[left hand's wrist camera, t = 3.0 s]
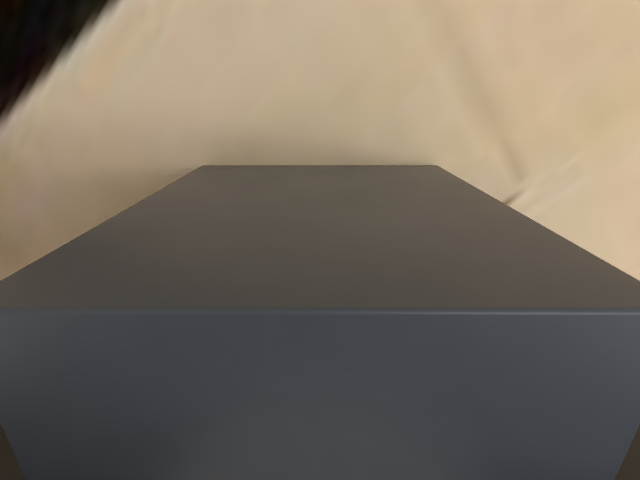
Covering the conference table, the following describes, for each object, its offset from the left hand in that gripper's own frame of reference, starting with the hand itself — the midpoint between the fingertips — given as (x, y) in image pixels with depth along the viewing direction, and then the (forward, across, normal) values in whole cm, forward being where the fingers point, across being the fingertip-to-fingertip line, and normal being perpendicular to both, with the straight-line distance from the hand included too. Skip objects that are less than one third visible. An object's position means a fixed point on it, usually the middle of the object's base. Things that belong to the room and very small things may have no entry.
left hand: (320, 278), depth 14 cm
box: (0, 0, -7) cm, 7 cm away
